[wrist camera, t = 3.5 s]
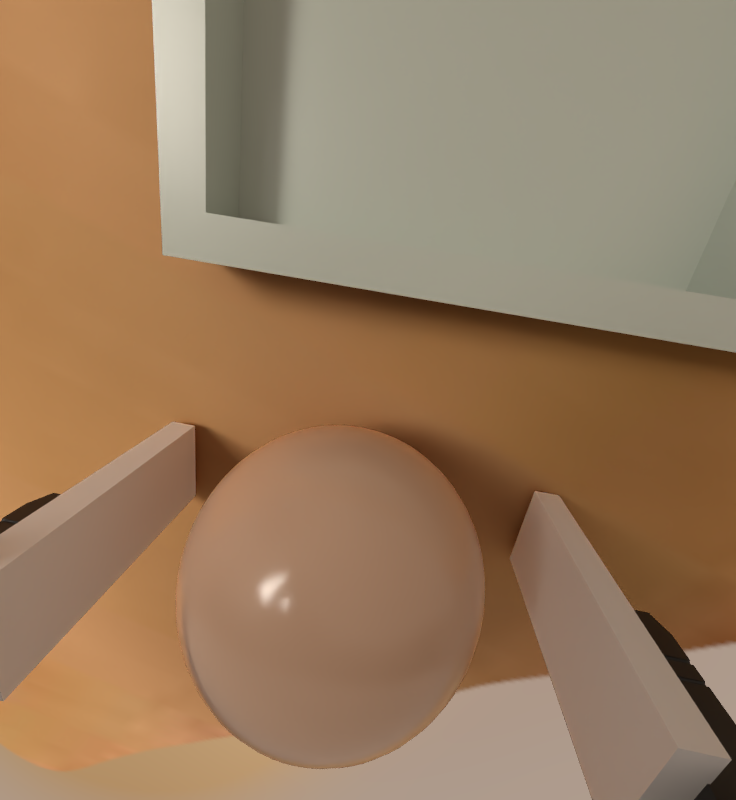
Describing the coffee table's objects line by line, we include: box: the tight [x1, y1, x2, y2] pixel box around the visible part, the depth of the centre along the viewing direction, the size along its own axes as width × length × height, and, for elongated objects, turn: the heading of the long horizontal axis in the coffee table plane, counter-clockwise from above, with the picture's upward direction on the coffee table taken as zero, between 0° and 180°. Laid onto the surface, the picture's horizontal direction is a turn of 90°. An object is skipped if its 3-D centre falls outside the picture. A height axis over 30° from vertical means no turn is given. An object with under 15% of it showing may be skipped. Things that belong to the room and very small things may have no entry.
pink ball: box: [176, 425, 485, 769], centre depth 9 cm, size 7×7×7 cm
